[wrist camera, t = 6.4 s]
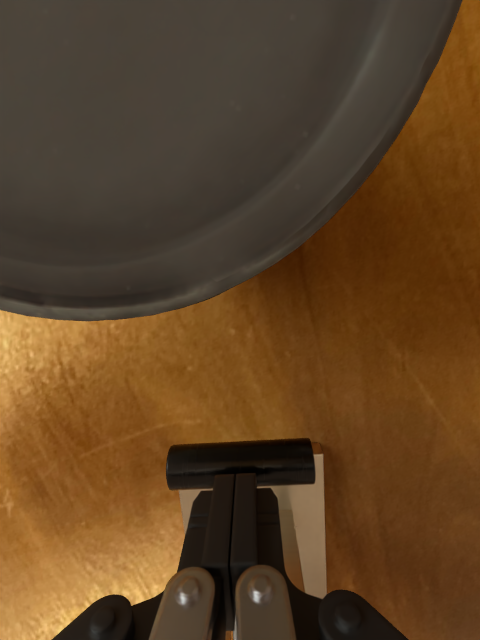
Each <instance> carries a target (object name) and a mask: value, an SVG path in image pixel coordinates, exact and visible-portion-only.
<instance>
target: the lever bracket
mask: <svg viewBox="0 0 480 640" xmlns="http://www.w3.org/2000/svg"><path fill="white" fill-rule="evenodd" d="M311 444H312V448H313V453H314V460H315V472H316V479H315V484H311V485H288V486H265V487H257V488H271V489H272V490H273V492H274V493H275V495H276V497H277V498H278V507H279V517H280V527H281V537H282V547H283V556H284V566H285V571H286V574H287V576H288V578H289V579H290V581H291V582H292V583H293V584H294V585H295V586H296V587H297V588H298V589H299V590H301V591H303V592H304V593H307V594H309V595H312V596H315V597H318V598H321V599H323V598H324V597H325V596H326V595H327V580H326V540H325V500H324V460H323V452H322V449H321V446H320V443H311ZM206 490H213V489H197V490H179V495H180V502H181V509H182V517H183V524H184V531H185V535H186V531H187V528H188V522H189V517H190V513H191V508H192V504H193V501H194V500H195V498H196V497H197V496H198V494H199V493H200V491H206ZM225 640H231V631H226V637H225Z"/></svg>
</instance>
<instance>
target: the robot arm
mask: <svg viewBox="0 0 480 640" xmlns="http://www.w3.org/2000/svg"><path fill="white" fill-rule="evenodd" d="M235 616H236V631H237V640H408V639H407V638H406V637H405V636H404V635H403V634H402V633H401V632H400V631H398V630H397V629H396V628H395V627H394V626H393V625H392V624H391V623H390V622H389V621H388V620H387V619H385V618H384V617H383V616H382V615H381V614H380V613H379V612H378V611H377V610H376V609H375V608H373V607H372V606H371V605H370V604H369V603H368V602H367V601H366V600H365V599H363V598H362V597H361V596H359V595H358V594H356V593H354V592H351V591H348V590H335V591H332V592H330V593H328V594H327V595H326V596H325V597H324V598H323V599H321V598H318V597H315V596H312V595H309V594H307V593H304V592H303V591H301V590H299V589H298V588H297V587H296V586H295V585H294V584H293V583H292V582H291V581H290V579H289V578H288V576H287V574H286V571H285V566H284V556H283V547H282V537H281V527H280V517H279V507H278V498H277V497H276V495H275V493H274V492H273V490H272V489H271V488H257V483H256V473H241V474H236V477H235V474H221V475H215V478H214V485H213V490H206V491H200V493H199V494H198V496H197V497H196V498H195V500H194V501H193V504H192V508H191V513H190V517H189V522H188V528H187V531H186V535H185V540H184V544H183V549H182V553H181V557H180V562H179V566H178V570H177V573H176V574H175V575H174V576H173V577H172V578H171V579H170V580H169V582H168V583H167V585H166V587H165V590H164V591H163V592H162V593H160V594H159V595H157V596H156V597H154V598H151V599H149V600H146V601H144V602H141V603H138V604H136V605H133V606H131V604H130V602H129V600H128V599H127V598H125V597H124V596H121V595H108V596H105V597H103V598H101V599H99V600H97V601H96V602H94V603H93V604H92V605H90V606H89V607H88V608H87V609H86V610H85V611H84V612H83V613H81V614H80V615H79V616H78V617H77V618H76V619H75V620H73V621H72V622H71V623H70V624H69V625H68V626H67V627H66V628H64V629H63V630H62V631H61V632H60V633H59V634H58V635H57V636H55V637H54V638H53V639H52V640H225V637H226V631H235Z"/></svg>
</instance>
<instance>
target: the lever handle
mask: <svg viewBox="0 0 480 640" xmlns="http://www.w3.org/2000/svg"><path fill="white" fill-rule="evenodd" d="M241 473H256V483H257V487H265V486H288V485H311V484H315V479H316V472H315V460H314V453H313V448H312V444H311V441H310V439H309V438H297V439H278V440H258V441H239V442H219V443H199V444H180V445H172V446H171V447H170V449H169V452H168V456H167V463H166V479H167V484H168V488H169V489H170V490H172V491H175V490H197V489H213V485H214V478H215V475H221V474H235V477H236V474H241ZM233 640H237V631H236V616H235V631H233Z"/></svg>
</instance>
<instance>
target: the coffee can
mask: <svg viewBox="0 0 480 640" xmlns="http://www.w3.org/2000/svg"><path fill="white" fill-rule="evenodd" d="M461 2H462V0H0V310H3V311H7V312H12V313H17V314H21V315H26V316H33V317H41V318H49V319H56V320H74V321H100V320H118V319H127V318H135V317H142V316H150V315H155V314H159V313H163V312H168V311H172V310H176V309H180V308H183V307H187V306H190V305H193V304H196V303H199V302H202V301H205V300H208V299H210V298H212V297H214V296H217V295H219V294H221V293H223V292H225V291H227V290H228V289H230V288H232V287H234V286H236V285H238V284H240V283H242V282H244V281H246V280H248V279H250V278H252V277H254V276H256V275H257V274H259V273H261V272H262V271H264V270H266V269H267V268H269V267H271V266H272V265H274V264H276V263H277V262H278V261H280V260H281V259H283V258H284V257H285V256H287V255H288V254H290V253H291V252H293V251H294V250H295V249H297V248H298V247H300V246H301V245H302V244H303V243H304V242H305V241H306V240H308V239H309V238H310V237H311V236H312V235H313V234H314V233H316V232H317V231H318V230H319V229H320V228H321V227H322V226H324V225H325V224H326V223H327V222H328V221H329V220H330V219H331V218H332V217H333V216H334V215H335V214H336V213H337V211H338V210H339V209H340V208H341V207H342V206H343V205H344V204H345V203H346V202H347V201H348V200H349V199H350V198H351V197H352V196H353V195H354V194H355V193H356V191H357V190H358V189H359V188H360V187H361V185H362V184H363V183H364V182H365V180H366V179H367V178H368V177H369V175H370V174H371V173H372V172H373V170H374V169H375V168H376V166H377V165H378V164H379V162H380V161H381V159H382V158H383V156H384V155H385V154H386V152H387V151H388V149H389V148H390V146H391V145H392V144H393V142H394V141H395V139H396V138H397V136H398V134H399V133H400V131H401V130H402V128H403V126H404V125H405V123H406V121H407V120H408V118H409V116H410V115H411V113H412V112H413V110H414V108H415V107H416V105H417V103H418V101H419V99H420V97H421V94H422V92H423V90H424V87H425V85H426V83H427V81H428V79H429V78H430V76H431V74H432V72H433V70H434V69H435V67H436V65H437V63H438V61H439V59H440V56H441V54H442V51H443V49H444V47H445V44H446V42H447V39H448V37H449V34H450V32H451V29H452V27H453V24H454V22H455V19H456V16H457V13H458V11H459V8H460V5H461Z"/></svg>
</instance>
